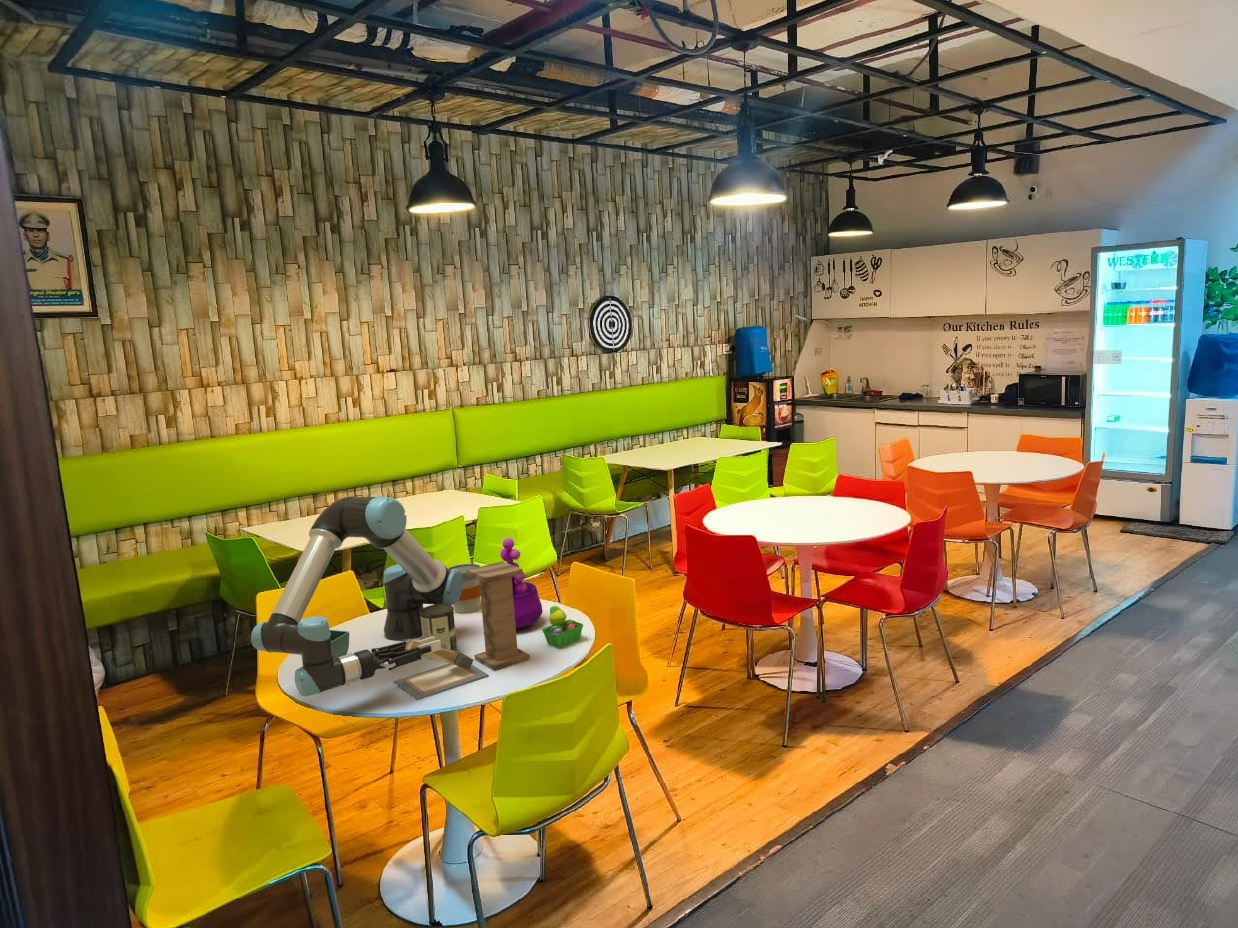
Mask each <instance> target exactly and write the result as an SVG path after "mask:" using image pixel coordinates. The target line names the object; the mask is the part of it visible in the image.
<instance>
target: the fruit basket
mask: <svg viewBox="0 0 1238 928" xmlns="http://www.w3.org/2000/svg"><path fill="white" fill-rule="evenodd" d="M548 616H549V617H548V620H549V623H550V624H551V625H548V626H546V627H544V628H542V629H541V632H542V633H543V634H544V637H545V640H546V643H547V645H548V644H549V645H550V646H551V647H553V646H554V648H556V649H559V648H561V647H565V646H567V645H570V644H572V643H575V642H579V641H580V640H581V635H582V630H583V627H584V624H583V623H582V622H578V621H575V620H572V619H567V614H566V613H565V611H563V609H561V607H560V606H557V605H552V606H551V607H550V608H549V615H548ZM549 645H548V646H549Z"/></svg>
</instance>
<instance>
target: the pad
mask: <svg viewBox="0 0 1238 928" xmlns="http://www.w3.org/2000/svg"><path fill="white" fill-rule="evenodd" d="M489 676H490V675H489V674H488V673H486V672H485V671H483V670H482V669H480V668H478V667H477V666H475V665H473V664H472V665H471V668H470V670H469V669H465V668H461V667H458V666H456V665H455V664H452V663H446V664H443V665H440V666H436V667H434V668H430V669H427V670H424V671H421V672H418V673H415V674H414V673H413V674H412V675H408V676H405V677H401V678H399V679H395V680H393V682H394V683H393V682H392V683H393V684H395V685H396V684H397V685H398V686H397V685H396V686H397V687H398V688H400V687H401V688H402V689H401V688H400V689H401V690H402V691H404V690H405V691H406V692H407V693H406V692H405V691H404V692H405V693H406V694H408V693H409V694H410V695H411V697H412V696H413V697H414V698H415V699H414V698H413V697H412V698H413V699H414V700H416V701H419V700H418V699H420V700H422V699H424V697H425V698H428V697H430V696H434V695H437V694H440V693H443V692H446V691H449V690H451V689H452V690H453V689H454V688H455V689H456V688H458V687H461V686H464V685H466V684H470V683H472V682H473V683H474V682H476V681H479V680H482V679H485V678H488V677H489ZM409 694H408V695H409ZM410 695H409V696H410ZM427 696H428V697H427Z"/></svg>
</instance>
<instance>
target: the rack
mask: <svg viewBox="0 0 1238 928" xmlns="http://www.w3.org/2000/svg"><path fill="white" fill-rule="evenodd" d="M523 572H524V569H523V568H522V567H520V566H519V567H516V566H513V565H511V564H508V563H507V562H506V561H504V560H503V561H499V562H495V563H490V564H486V565H483V566H482V565H480V567H477V568H473V569H469V570H467V575H468V576H471V577H473V578H475V579H478V580H479V584H480V595H481V596H480V607H481V615H482V616H481V617H482V627H483V637H484V638H483V639H484V646H485V647H484V648H485V649H484V650H485V651H483V652H480V653H475V654H474V660H475V661H477V662H478V663H480V664H481V665H483V666H485V667H487V668H489V669H490V670H492V671H493V672H496V671H500V670H502V669H505V668H508V667H511V666H514V665H518V664H520V663H523V662H526V661H529V660H530V659H531V656H530V653H527V652H526V651H523V650H521V649H520V648H518V638H517V628H516V625H515V613H514V601H513V590H512V578H511V577H513V576H517V575H521V574H523Z"/></svg>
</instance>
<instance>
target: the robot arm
mask: <svg viewBox="0 0 1238 928" xmlns="http://www.w3.org/2000/svg"><path fill="white" fill-rule="evenodd" d="M405 513H406V510H405V508H404V506H403V504H402V503H401V502H400V501H399V500H397V499H395V498H393V497H388V496H344V497H342V498H341V497H340V498H339V499H336V500H335V501H333V502H332V503H330V504H329V505H328V506H327V507H326V508H325V509H324V510H323V511H322V512H321V513H320V514H319V515H318V517H317V518H316V519H315V521H314V522H313V524H312V526H311V528H310V529H309V532H308V536H309V539H308V542H307V543H306V545H305V548H304V550H303V551H302V553H301V555H300V557H299V559H298V561H297V564H296V565H295V567H294V569H293V571H292V573H291V575H290V577H289V578H288V581H287V583H286V585H285V587H284V589H283V591H282V593H281V595H280V596H279V599H278V600H277V603H276V605H275V607H274V609H273V611H272V613H271V615H270V616H269V618H268V620H267V621H263V622H259V623H258V624H257V625H255V626H254V627H253V629H252V631H251V636H250V640H251V644H252V647H253V648H255V650H257V651H261V652H267V653H271V654H272V653H281V654H289V655H290V654H291V655H300V656H301V661H302V662H301V663H302V666H301V667H299V668H296V669H295V671H294V684H295V687H296V690H297V692H298V694H299V695H300V696H301V697H309V696H312V695H317V694H321V693H324V692H327V691H330V690H333V689H335V688H339V687H343V686H347V687H348V686H350V684H352V683H356V682H358V681H360V680H361V681H364V680H367V679H369V678H373V677H374V676H375V674H376V671H377V670H382V669H387V668H388V671H394V670H395V669H397V668H400V667H402V666H405V665H407V664H411V663H414V662H417V661H420V660H421V659H422V655H425V654H428V653H431V652H435V651H438V650H441V641H440V640H436V641H435V637H434V636H433V637H429V638H426V639H423V638H422V639H420V640H418V641H419V642H422V643H426V644H423V645H419V646H418V648H414V649H409V650H405V646H406V644H407V641H408V639H411V640H414V639H416V638H420V637H423V636H422V627H421V618H420V613H419V611H420V610H421V609H422V608H424V605H436V604H449V605H452V606H453V605H454V604H455V603H456V602H457V601H458V600H459V598H460V595H461V592H462V587H463V579H462V574H461V572H460V571H459V570H456V569H448V568H449V567H448V568H447V566H446V565H445V564H444V563H443V562H442V561H441V560H438V559H433V558H432V556H431V555H430V554H429V553H428V552H427V551H426V550H425V549H424V548H423V546H422V545H421V544H420V543H419V542H418V541H417V540H416V538H415V537H414V536H413V535H412V534H411V533H410V532H409V531H408V530H407V529H406V527H407V521H408V520H407V519H408V518H407V515H406V514H405ZM348 538H363V539H366V540H367V541H368V542H369V543H370V544H371V546H372V547H374V548H377V549H382V550H384V551H385V552H386V553H387V554H388V555H389V556H390V557H391V558H392V559H393V560H394V561H395V562H396V564H394V565H391V566H389V567H387V568H386V569H385V570H384V571H383V587H384V592H385V593H384V594H385V595H384V596H385V602H386V611H387V613H386V617H385V622H384V626H383V635H384V637H385V638H386V639H387V640H392V641H401V642H397V643H393V644H389V645H384V646H380V647H376V648H375V647H374V648H371V649H370V650H369V649H362V650H359V651H356V652H354V653H347V655H344V656H340V657H337V658H334V659H333V653H332V644H331V632H330V630H331V629H330V625H329V620H328V619H327V618H326V617H324V616H310V617H306V618H304V619H302V618H303V616H304V614H305V612H306V610H307V608H308V606H309V604H310V602H311V600H312V598H313V596H314V594H315V591H316V589H317V587H318V586H319V584H320V581H321V579H322V577H323V575H324V573H325V572H326V569H327V567H328V566H329V563H330V561H331V558H332V557H333V554H334V553H335V550H336V549H340V547H342V545H343V542H344V541H345V540H346V539H348Z"/></svg>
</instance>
